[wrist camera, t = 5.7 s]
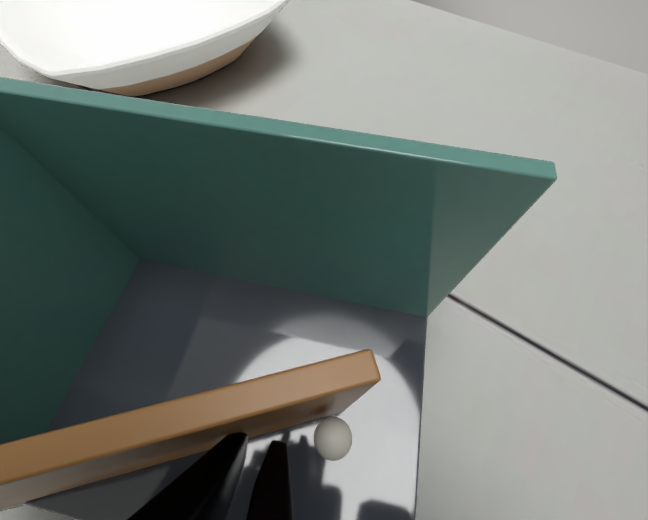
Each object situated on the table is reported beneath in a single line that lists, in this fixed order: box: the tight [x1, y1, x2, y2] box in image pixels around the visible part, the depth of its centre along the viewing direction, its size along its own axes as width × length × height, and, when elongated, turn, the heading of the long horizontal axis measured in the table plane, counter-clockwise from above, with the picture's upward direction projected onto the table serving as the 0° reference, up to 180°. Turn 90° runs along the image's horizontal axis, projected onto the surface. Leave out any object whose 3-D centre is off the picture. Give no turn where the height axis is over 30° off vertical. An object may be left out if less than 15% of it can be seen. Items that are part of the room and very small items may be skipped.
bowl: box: [0, 0, 290, 96], centre depth 28 cm, size 22×22×5 cm
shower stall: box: [0, 77, 557, 520], centre depth 11 cm, size 12×17×12 cm
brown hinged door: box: [0, 349, 381, 511], centre depth 9 cm, size 2×14×10 cm, turn 104°
